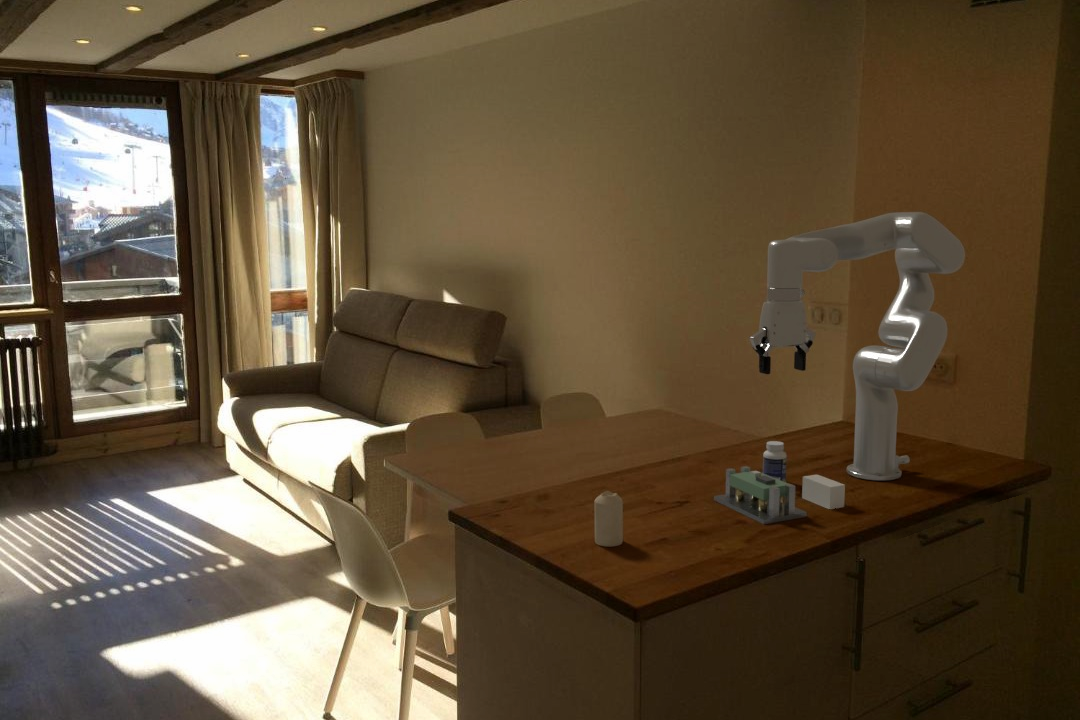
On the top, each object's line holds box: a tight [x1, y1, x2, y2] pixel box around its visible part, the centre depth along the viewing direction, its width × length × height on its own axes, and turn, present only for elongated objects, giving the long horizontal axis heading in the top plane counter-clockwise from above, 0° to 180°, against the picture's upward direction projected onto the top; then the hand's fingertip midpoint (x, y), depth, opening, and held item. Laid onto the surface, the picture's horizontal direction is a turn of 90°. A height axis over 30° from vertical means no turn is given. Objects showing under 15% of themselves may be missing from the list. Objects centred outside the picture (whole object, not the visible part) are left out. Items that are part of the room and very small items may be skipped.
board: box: [730, 470, 789, 500], centre depth 195 cm, size 7×12×3 cm, turn 23°
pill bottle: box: [762, 440, 788, 483], centre depth 214 cm, size 5×5×10 cm
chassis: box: [713, 465, 807, 525], centre depth 196 cm, size 11×18×7 cm, turn 23°
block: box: [801, 473, 846, 510], centre depth 199 cm, size 4×9×5 cm, turn 23°
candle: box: [593, 490, 624, 548], centre depth 177 cm, size 6×6×10 cm
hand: (782, 371), depth 202 cm, fingers open, 9 cm apart
